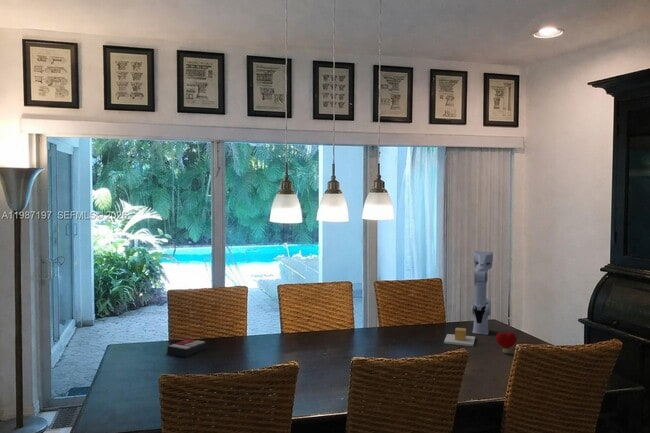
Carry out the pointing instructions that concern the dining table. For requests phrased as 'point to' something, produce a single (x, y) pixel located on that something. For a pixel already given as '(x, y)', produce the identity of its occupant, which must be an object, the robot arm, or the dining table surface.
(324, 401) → the dining table surface
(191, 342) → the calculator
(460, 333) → the tilted mustard cube
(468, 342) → the plate
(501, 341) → the dark red rounded lump
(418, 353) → the dining table surface
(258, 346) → the dining table surface
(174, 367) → the dining table surface
